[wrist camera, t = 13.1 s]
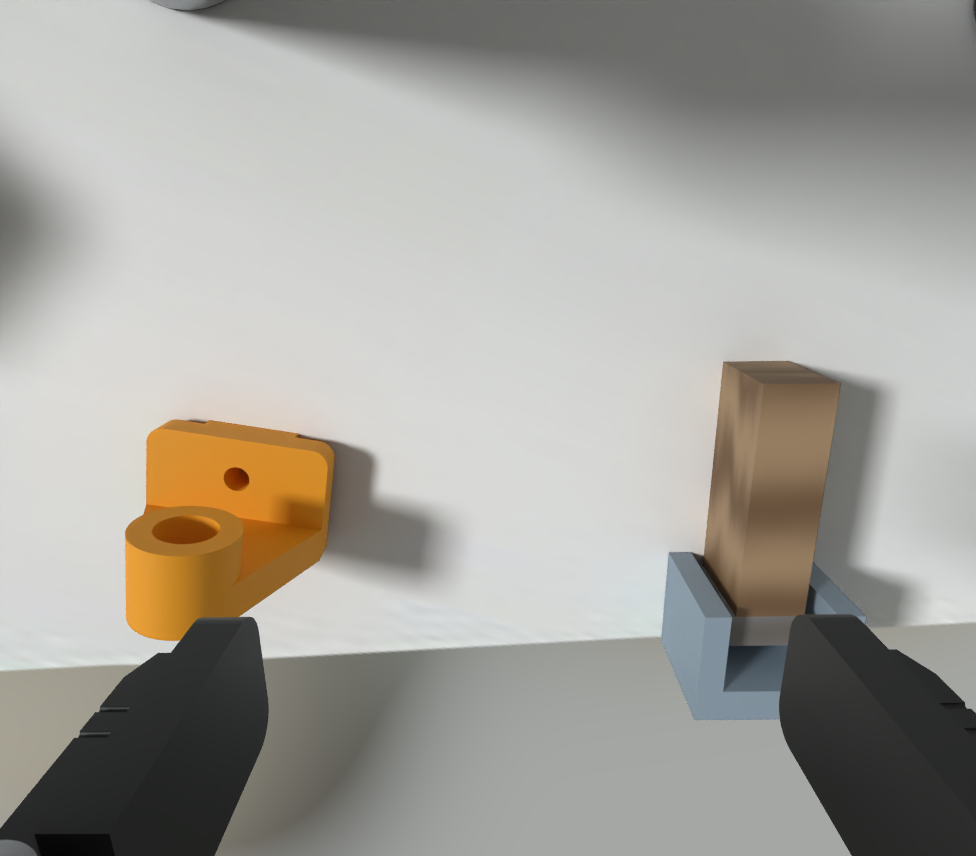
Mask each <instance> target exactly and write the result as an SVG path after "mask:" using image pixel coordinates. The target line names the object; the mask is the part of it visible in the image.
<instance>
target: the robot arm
mask: <svg viewBox="0 0 976 856" xmlns="http://www.w3.org/2000/svg"><path fill="white" fill-rule="evenodd" d="M149 1H151V2H153V3H156V4H159V5H162V6H165V7H168V8H172V9H181V10H195V9H202V8H208V7H210V6H213V5H215V4H218V3H220V2H222V1H224V0H149ZM779 715H780V722H781V727H782V730H783V734H784V737H785V740H786V742H787V744H788V746H789V748H790V750H791V752H792V754H793V755H794V757H795V759H796V761H797V762H798V764H799V766H800V767H801V769H802V771H803V773H804V774H805V776H806V778H807V779H808V781H809V783H810V784H811V786H812V788H813V790H814V792H815V793H816V795H817V797H818V798H819V800H820V802H821V803H822V805H823V807H824V809H825V810H826V812H827V814H828V816H829V817H830V819H831V821H832V822H833V824H834V826H835V828H836V829H837V831H838V833H839V834H840V836H841V838H842V840H843V841H844V843H845V845H846V846H847V848H848V850H849V852H850V853H851V855H852V856H976V713H975V712H974V711H973V710H972V709H967V708H966V707H965V702H964V701H963V700H962V699H961V698H960V697H959V696H958V695H957V694H956V693H955V692H954V691H953V690H951V688H949V686H947V685H946V684H945V683H944V682H943V681H942V680H941V679H940V678H939V677H938V676H937V675H936V674H935V673H934V672H932V671H930V670H929V669H927V668H925V667H924V666H922V665H920V664H919V663H917V662H916V661H914V660H912V659H911V658H909V657H908V656H906V655H904V654H903V653H901V652H900V651H898V650H889V649H888V648H887V647H886V646H885V645H884V644H883V643H882V642H881V641H880V640H879V639H878V638H877V637H876V636H875V635H874V634H873V633H872V632H871V630H870V629H869V628H868V627H867V626H866V625H865V624H864V623H863V622H862V621H861V620H860V619H859V618H858V617H856V616H854V615H851V614H807V615H797V616H796V617H795V618H794V620H793V621H792V624H791V628H790V633H789V640H788V646H787V653H786V659H785V665H784V672H783V678H782V685H781V691H780V698H779ZM267 724H268V696H267V690H266V682H265V674H264V667H263V660H262V652H261V645H260V638H259V631H258V626H257V623H256V621H255V620H254V618H252V617H201V618H199V619H197V620H196V621H195V622H194V623H193V624H192V626H191V627H190V628H189V630H188V631H187V632H186V634H185V635H184V636H183V638H182V639H181V640H180V642H179V643H178V644H177V646H176V647H175V648H174V650H173V651H172V652H171V653H157V654H156V655H155V656H153V657H152V658H150V659H149V660H148V661H146V662H145V663H143V664H142V665H141V666H139V667H138V668H136V669H135V670H134V671H132V672H131V673H129V674H128V675H127V676H125V677H124V678H123V679H122V680H121V682H120V683H119V684H118V685H117V686H116V688H115V689H114V690H113V691H112V693H111V694H110V695H109V696H108V697H107V699H106V700H105V701H104V702H103V704H102V705H101V706H100V711H99V712H95V713H94V715H93V716H92V717H91V718H90V719H89V721H88V722H87V723H86V724H85V726H84V727H83V728H82V729H81V730H80V735H79V737H78V738H74V739H73V740H72V741H71V743H70V744H69V745H68V746H67V748H66V749H65V750H64V751H63V753H62V754H61V755H60V756H59V757H58V759H57V760H56V761H55V762H54V763H53V765H52V766H51V767H50V768H49V770H48V771H47V772H46V773H45V775H44V776H43V777H42V778H41V779H40V781H39V782H38V783H37V784H36V786H35V787H34V788H33V789H32V790H31V792H30V793H29V794H28V795H27V797H26V798H25V799H24V800H23V801H22V803H21V804H20V805H19V806H18V808H17V809H16V810H15V811H14V812H13V814H12V815H11V816H10V817H9V818H8V820H7V821H6V822H5V823H4V825H3V826H2V827H1V828H0V856H214V855H215V853H216V851H217V849H218V846H219V844H220V842H221V840H222V837H223V835H224V833H225V830H226V828H227V826H228V823H229V821H230V819H231V817H232V814H233V812H234V810H235V808H236V805H237V803H238V801H239V799H240V796H241V794H242V792H243V790H244V787H245V785H246V783H247V780H248V778H249V776H250V773H251V771H252V769H253V767H254V764H255V762H256V760H257V757H258V755H259V753H260V751H261V748H262V746H263V742H264V738H265V735H266V730H267Z"/></svg>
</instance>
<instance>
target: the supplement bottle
mask: <svg viewBox="0 0 976 856" xmlns="http://www.w3.org/2000/svg"><path fill="white" fill-rule="evenodd" d="M973 6H974V17H975V21H976V0H974V3H973Z"/></svg>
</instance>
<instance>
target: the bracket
mask: <svg viewBox="0 0 976 856" xmlns="http://www.w3.org/2000/svg"><path fill="white" fill-rule="evenodd" d="M334 461H335V455H334V452H333V450H332V448H331V447H330V446H329V445H328V444H326V443H324V442H322V441H316V440H309V439H303V438H298V433H291V432H284V431H278V430H271V429H265V428H258V427H251V426H245V425H238V424H232V423H225V422H219V421H212V420H209V421H208V422H206V423H205V424H203V423H197V422H190V421H184V420H171V421H169V422H167V423H165V424H164V425H162V426H160V427H159V428H157V429H155V430H154V431H152V432H151V433H150V434H149V435H148V437H147V463H146V508H145V511H144V514H143V515H142V516H140V517H138V518H137V519H135V520H134V521H133V522H131V523H130V524H129V526H128V527H127V529H126V532H125V562H126V620H127V623H128V625H129V626H130V627H131V628H132V629H133V630H134V631H135V632H137V633H139V634H141V635H143V636H145V637H148V638H152V639H157V640H166V641H179V640H181V639H182V638H183V636H184V635H185V634H186V632H187V631H188V630H189V628H190V627H191V626H192V624H193V623H194V622H195V621H196V620H197V619H199V618H201V617H239V616H240V615H242V614H243V613H245V612H246V611H248V610H249V609H250V608H252V607H253V606H255V605H256V604H258V603H259V602H261V601H262V600H263V599H265V598H266V597H268V596H269V595H271V594H272V593H273V592H275V591H276V590H278V589H279V588H281V587H282V586H283V585H285V584H286V583H288V582H289V581H291V580H292V579H293V578H295V577H296V576H298V575H299V574H301V573H302V572H303V571H305V570H306V569H308V568H309V567H311V566H312V565H313V564H315V563H316V562H318V561H319V560H320V558H321V556H322V554H323V552H324V550H325V548H326V545H327V535H328V524H329V514H330V503H331V493H332V482H333V472H334ZM242 469H243V470H244V471H245V472H246V473H245V472H244V471H243V470H242Z"/></svg>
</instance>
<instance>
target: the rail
mask: <svg viewBox="0 0 976 856" xmlns="http://www.w3.org/2000/svg"><path fill="white" fill-rule="evenodd" d="M840 386H841V383H838V382H836V381H834V380H832V379H829V378H827V377H825V376H822V375H820V374H818V373H815V372H813V371H811V370H808V369H806V368H804V367H801V366H799V365H797V364H795V363H792V362H790V361H748V362H723V370H722V380H721V390H720V400H719V410H718V420H717V430H716V440H715V450H714V460H713V470H712V480H711V490H710V500H709V510H708V520H707V530H706V540H705V550H704V560H703V565H700V567H701V569H702V570H703V572H704V574H705V575H706V577H707V578H708V580H709V582H710V583H711V585H712V586H713V588H714V589H715V591H716V593H717V594H718V596H719V597H720V599H721V601H722V602H723V604H724V605H725V607H726V608H727V610H728V612H729V613H730V615H731V616H732V623H731V631H730V639H729V646H772V645H788V640H789V633H790V628H791V624H792V621H793V620H794V618H795V617H796V616H797V615H806V614H805V608H806V602H807V595H808V589H809V583H810V576H811V570H812V564H813V557H814V551H815V545H816V538H817V532H818V526H819V519H820V513H821V507H822V500H823V494H824V487H825V481H826V475H827V468H828V462H829V456H830V449H831V443H832V437H833V430H834V424H835V418H836V411H837V405H838V399H839V392H840Z"/></svg>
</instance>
